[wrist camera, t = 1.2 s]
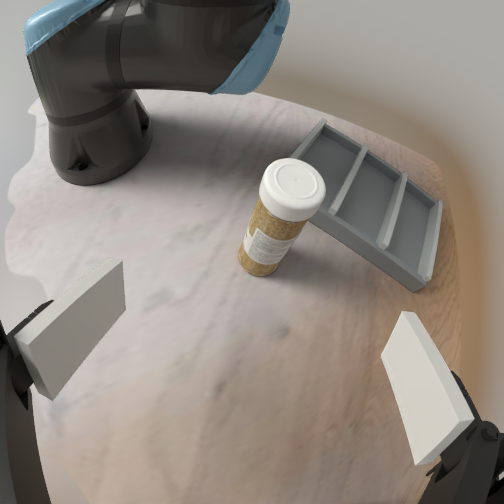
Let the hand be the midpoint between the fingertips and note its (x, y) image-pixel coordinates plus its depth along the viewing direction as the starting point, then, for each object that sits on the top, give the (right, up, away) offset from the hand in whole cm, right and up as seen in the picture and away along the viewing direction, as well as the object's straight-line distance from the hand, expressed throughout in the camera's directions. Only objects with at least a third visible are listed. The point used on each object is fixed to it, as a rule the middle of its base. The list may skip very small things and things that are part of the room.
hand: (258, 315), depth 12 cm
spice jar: (0, +2, +19) cm, 19 cm away
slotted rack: (+15, +10, +25) cm, 31 cm away
